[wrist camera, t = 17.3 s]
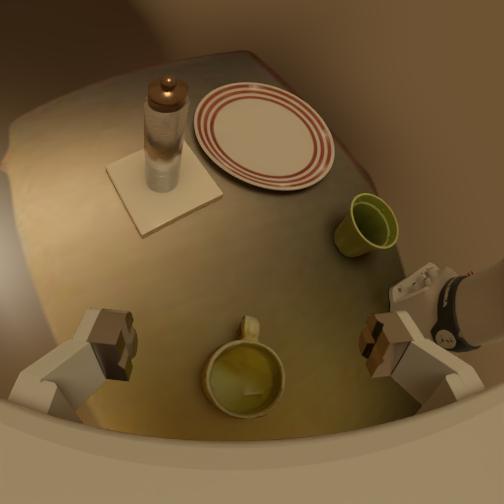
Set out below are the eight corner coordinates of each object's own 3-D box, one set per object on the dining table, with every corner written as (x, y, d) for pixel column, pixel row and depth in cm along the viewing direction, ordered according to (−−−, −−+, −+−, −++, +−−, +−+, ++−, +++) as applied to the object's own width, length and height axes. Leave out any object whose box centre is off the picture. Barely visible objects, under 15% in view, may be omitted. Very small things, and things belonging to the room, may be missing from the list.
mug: (267, 431, 34) (275, 426, 26) (194, 409, 35) (179, 396, 27) (290, 351, 41) (302, 323, 33) (222, 333, 42) (217, 300, 35)
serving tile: (179, 139, 48) (180, 134, 47) (221, 198, 46) (223, 194, 45) (106, 170, 43) (105, 166, 41) (142, 238, 40) (142, 235, 39)
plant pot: (322, 259, 47) (351, 238, 40) (325, 210, 51) (351, 184, 43) (368, 272, 49) (400, 255, 41) (368, 226, 53) (396, 204, 45)
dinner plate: (330, 214, 51) (339, 205, 48) (175, 176, 46) (176, 164, 43) (324, 115, 62) (330, 106, 59) (209, 81, 57) (211, 70, 54)
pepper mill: (169, 161, 45) (180, 60, 27) (184, 184, 44) (202, 83, 27) (140, 173, 43) (137, 71, 25) (154, 198, 42) (156, 96, 24)
